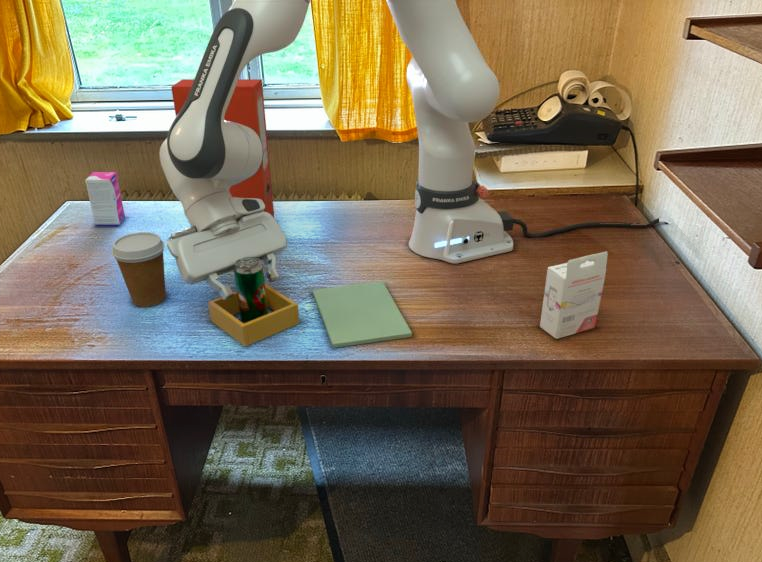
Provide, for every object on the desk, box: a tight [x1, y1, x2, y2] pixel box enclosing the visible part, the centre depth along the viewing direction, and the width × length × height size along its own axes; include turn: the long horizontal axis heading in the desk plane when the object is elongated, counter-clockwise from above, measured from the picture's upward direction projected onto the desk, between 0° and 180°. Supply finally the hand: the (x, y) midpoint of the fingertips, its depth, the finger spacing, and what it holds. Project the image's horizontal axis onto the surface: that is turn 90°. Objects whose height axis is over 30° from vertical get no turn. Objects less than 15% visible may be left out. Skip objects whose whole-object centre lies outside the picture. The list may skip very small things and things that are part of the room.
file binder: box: [170, 78, 275, 218], centre depth 150 cm, size 8×17×32 cm, turn 84°
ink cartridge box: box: [539, 251, 609, 340], centre depth 114 cm, size 9×5×15 cm, turn 114°
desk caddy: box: [207, 283, 301, 348], centre depth 121 cm, size 12×12×4 cm
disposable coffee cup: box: [110, 231, 167, 308], centre depth 127 cm, size 10×10×12 cm
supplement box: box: [84, 171, 126, 228], centre depth 160 cm, size 6×6×12 cm
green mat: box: [312, 280, 413, 349], centre depth 124 cm, size 14×20×1 cm
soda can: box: [233, 257, 269, 323], centre depth 119 cm, size 5×5×12 cm
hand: (252, 288), depth 118 cm, fingers open, 8 cm apart
